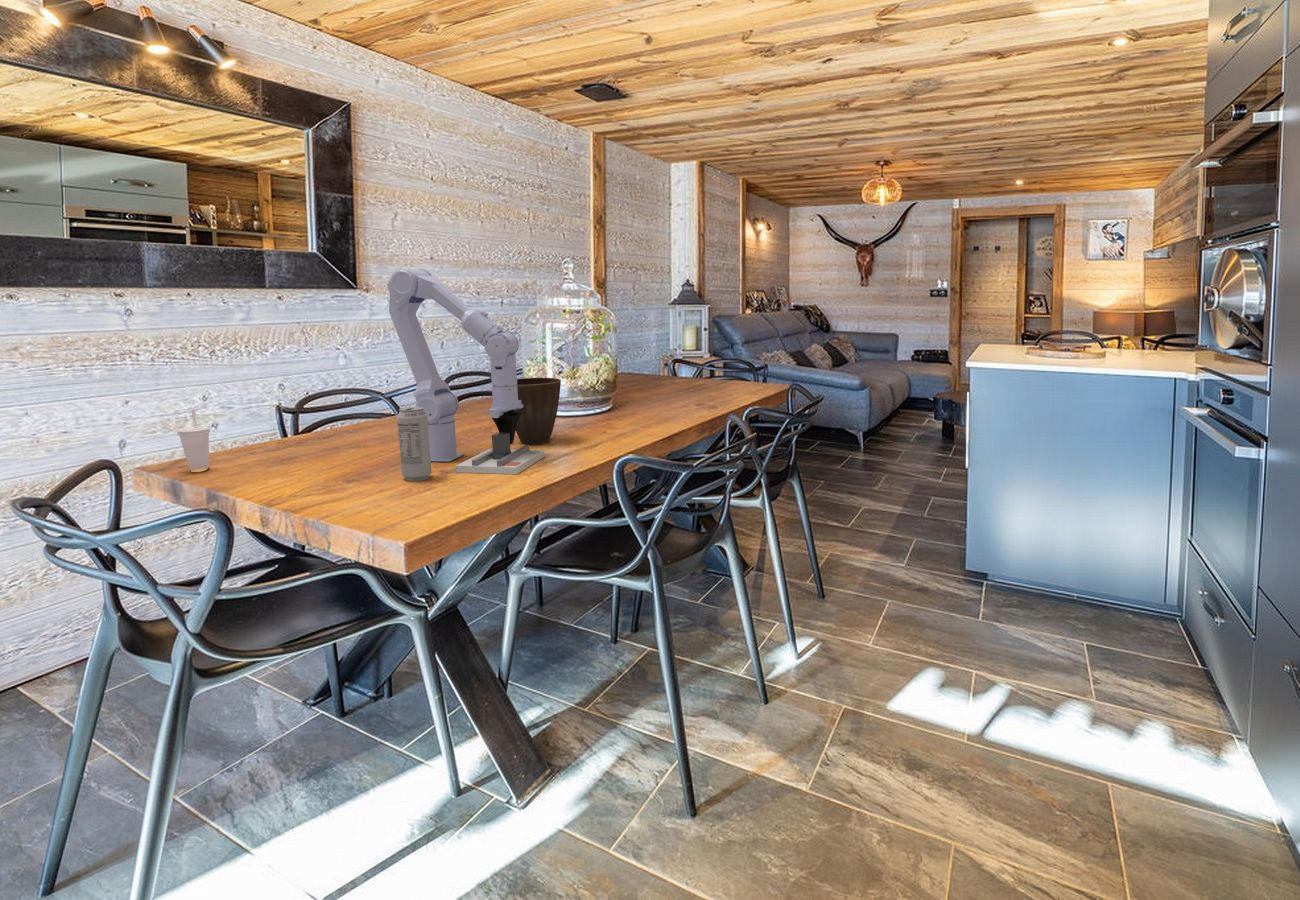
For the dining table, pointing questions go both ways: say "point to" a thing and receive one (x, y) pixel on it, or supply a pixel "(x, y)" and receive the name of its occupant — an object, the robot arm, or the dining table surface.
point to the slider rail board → (501, 462)
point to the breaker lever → (500, 445)
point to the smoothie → (195, 445)
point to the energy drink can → (414, 443)
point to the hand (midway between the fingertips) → (508, 443)
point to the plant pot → (537, 409)
